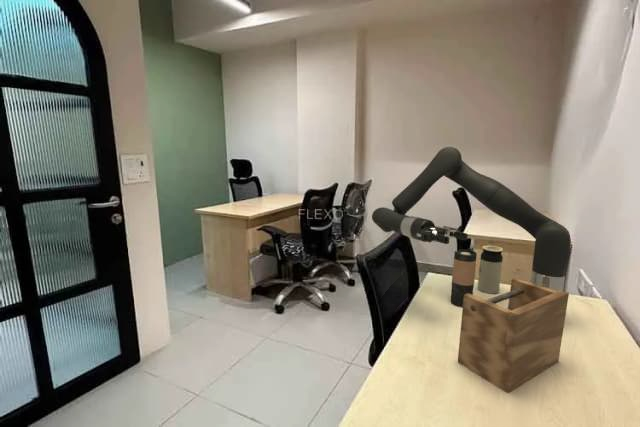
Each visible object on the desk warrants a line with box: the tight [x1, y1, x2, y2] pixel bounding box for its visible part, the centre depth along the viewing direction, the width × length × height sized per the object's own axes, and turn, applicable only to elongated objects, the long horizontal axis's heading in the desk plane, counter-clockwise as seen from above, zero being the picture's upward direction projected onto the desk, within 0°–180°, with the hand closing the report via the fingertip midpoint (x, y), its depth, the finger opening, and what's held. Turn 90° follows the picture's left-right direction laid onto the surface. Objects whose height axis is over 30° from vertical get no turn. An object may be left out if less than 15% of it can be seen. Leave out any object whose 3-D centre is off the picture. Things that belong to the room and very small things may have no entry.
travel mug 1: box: [450, 248, 477, 308], centre depth 127 cm, size 8×8×20 cm
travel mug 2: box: [477, 245, 504, 294], centre depth 140 cm, size 8×8×18 cm
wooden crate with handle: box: [457, 277, 570, 394], centre depth 92 cm, size 14×24×20 cm, turn 121°
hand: (457, 239), depth 104 cm, fingers open, 8 cm apart
